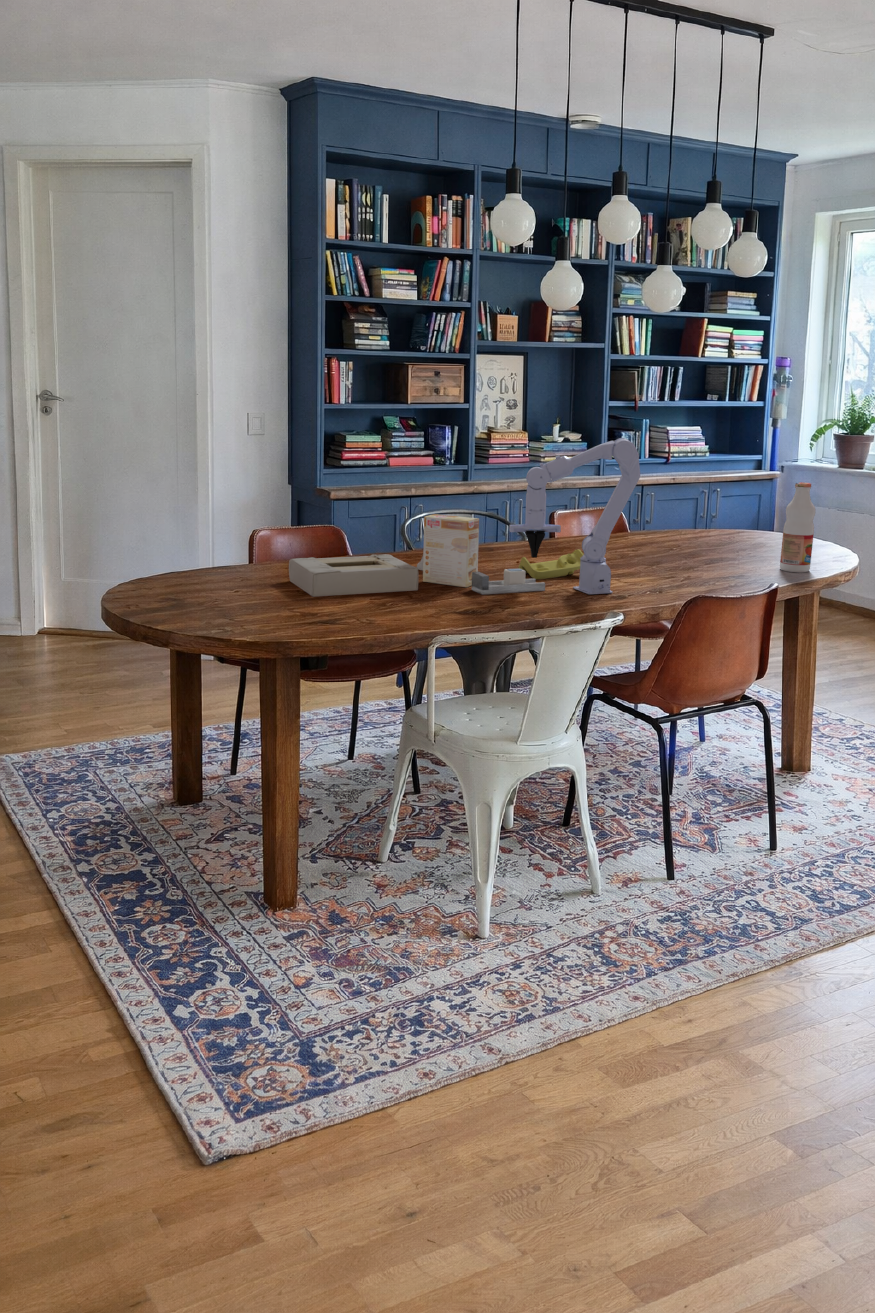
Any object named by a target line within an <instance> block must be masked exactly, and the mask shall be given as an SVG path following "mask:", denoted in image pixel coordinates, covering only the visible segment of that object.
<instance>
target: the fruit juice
mask: <svg viewBox="0 0 875 1313" xmlns="http://www.w3.org/2000/svg"><path fill="white" fill-rule="evenodd" d="M794 484H795V485H794V488H795V492H794V495H793V497H792V500H791V501H790V502H789V503H788V504H787V506H786V507H785V517H786V519H785V522H784V524H783V529H782V542H781V550H780V551H781V552H780V561H779V569H780V570H781V571H782V572H783V571H784V572H787V573H788V572H789V573H808V572H810V570H811V562H812V553H813V544H814V543H813V542H814V533H815V524H814V519H815V516H816V507H815V504H813V502H812V499H811V494H810V491H811V490H812V482H803V481H802V482H795V483H794Z"/></svg>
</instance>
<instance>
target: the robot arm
mask: <svg viewBox="0 0 875 1313" xmlns="http://www.w3.org/2000/svg"><path fill="white" fill-rule="evenodd" d="M601 459H602V460H609V461H613V459H614V460H615V461H616V463H617V464H618V467H619V470H620V473H621V476H620V478H619V481H618V482H617V484H616V486H615V488H614V490H613V492H612V493H611V496H610V497H609V500H608V501H607V503H606V505H605V507H604V509H603V511H602V513H601V514H600V517H599V518H598V520H597V523H596V524H595V525H594V527H593V528H592V530H591V532H590V533H589V534H588V535H587V536H586V537H584V538H583V540H582V542H581V549H582V552H583V554H584V555H583V556H582V557H581V560H580V569H579V579H578V580H579V581H578V582H579V583H578V586H577V585H576V586H573V587H572V589H575V590H577V591H579V592H582V593H584V594H587V595H599V594H600V595H601V594H602V595H603V594H613V591H612V590H611V579H612V570H611V568H610V566H609V565H608V564H607V561H606V560H607V558H606V557H605V556H606V553H607V545H608V542H609V540H610V536H611V534H612V531H613V530H614V527H615V525H616V524H617V522H618V520H619V518H620V517H621V515H622V513H623V510H624V509H625V507H626V505H627V503H628V501H629V499H630V497H631V495H632V494H633V492H634V489H635V488H636V486H637V484H638V482H639V480H640V477H641V469H640V468H641V467H640V455H639V452H638V450H637V447H636V445H635V444H634V442H632V441H630V440H629V439H628V438H625V437H620V438H617V439H615V440H610V441H606V442H604V443H601V444H598V445H596V446H593V447H591V448H589V449H587V450H585V451H582V452H580V453H578V454H576V455H574V456H572V457H568V456H566V455H562V456H560V454H559V455H556V456H555V458H554V459H553V460H550V461H548V462H540V463H539V466H534V467H531V468H530V469H529V470H528V471H527V473H526V476H525V480H526V482H527V486H526V494H525V523H522V524H509V529H508V530H509V532H510V533H524V535H525V537H526V539H527V542H528V544H529V550H530V557H531V558H535V559H537V558H538V553H539V550H540V547H541V544H542V542H543V540H545V537H546V533H559V534H561V530H562V528H561V527H562V526H561V525H560V524H549V523H547V524H546V514H547V511H546V510H547V493H546V488H547V484H548V483H550V484H552V483H555V482H557V481H559V480H562V479H564V478H566V477H568V476H571V475H572V474H573V473H574V470H575V469H576V468H579V467H581V466H584V465H587V464H589V463H593V462H596V461H598V460H601Z"/></svg>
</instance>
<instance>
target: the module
mask: <svg viewBox="0 0 875 1313" xmlns="http://www.w3.org/2000/svg"><path fill="white" fill-rule="evenodd" d="M526 574H527V573H526V571H524V570H522V569H518V568H507V569H505V568H504V569H503V580H504V584H503V585H509V584H525V579H526Z"/></svg>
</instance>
